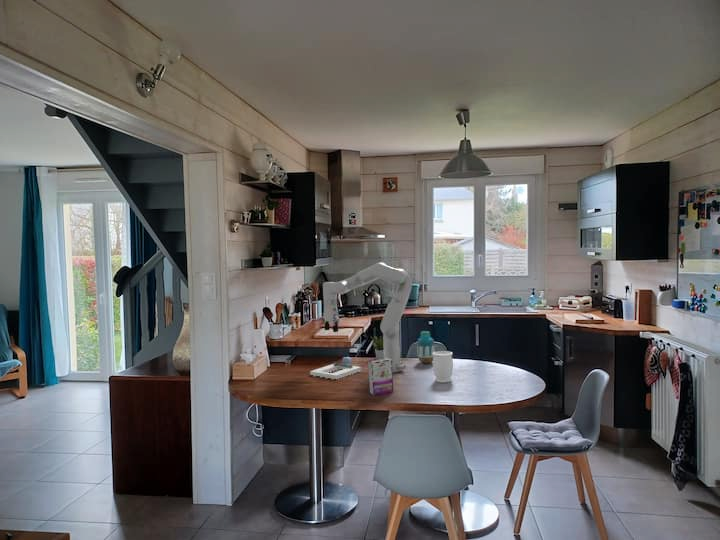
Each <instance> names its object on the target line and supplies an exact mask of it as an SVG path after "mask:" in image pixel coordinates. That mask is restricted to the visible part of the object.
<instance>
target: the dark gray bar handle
mask: <svg viewBox="0 0 720 540" xmlns="http://www.w3.org/2000/svg"><path fill="white" fill-rule="evenodd" d="M332 364H333V365H334V366H343V367H349V368H353V366H354V365H353V364H351V365H346V364H343V363H338V362H333V363H332Z"/></svg>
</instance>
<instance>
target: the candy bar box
mask: <svg viewBox="0 0 720 540" xmlns="http://www.w3.org/2000/svg"><path fill="white" fill-rule="evenodd" d="M367 364H368V365H367V367H368V381H369V393H370V394H371V395H373V396H378V395H383V394H389V393H393V392H394V379H393V377H394V376H393V372H392V360H391V359H389V358H385V359H372V360H368V361H367Z"/></svg>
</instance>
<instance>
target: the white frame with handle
mask: <svg viewBox="0 0 720 540" xmlns="http://www.w3.org/2000/svg"><path fill="white" fill-rule="evenodd" d="M341 369H342V370H341ZM335 370H336V371H335ZM332 371H333V372H332ZM329 372H330V373H329ZM357 372H358V373H360V372H362V367H361V366H356V365H353V368H349V367H343V366H334V365H333V363H332V364H328V365H325V366H322V367H319V368H316V369H313V370H310V371H309V373H310V375H313V376H312V377H316V376H320V377H319V378H322V377H325V378H324V379H328V378H331V379H330V380H334V379H338V380H340V379H339V378H341V379H343V378H346V377H349V376H352V375H354V373H355V374H357ZM351 374H352V375H351ZM348 375H349V376H348ZM345 376H346V377H345ZM342 377H343V378H342Z"/></svg>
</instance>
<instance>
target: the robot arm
mask: <svg viewBox="0 0 720 540" xmlns="http://www.w3.org/2000/svg"><path fill="white" fill-rule="evenodd" d="M376 280H382V281H385V282H388V283H391V284H394V285H397V286H396V289H395V291H394V295H393V297H392V299H391V301H390V302H389V303H388V304H387V307H386V309H385V312H384V315H383V317H382V320H381V322H380V325H379V326H380V328H379V329H380V331H381V334H383V335H382V338H383V339H382V342H383V345H384V359H385V358H389V359H391V360H392V373H399V372H403V371H404V370H405V369H406V365H405V364H403V362H401V347H400V346H401V345H400V343H401V340H400V326H401V325H400V321H401V319H402V316H403V314H404V312H405V310H406V306H407V304H408V301H409V297H410V294H411V292H412V288H413V287H412V286H413V285H412V284H413V283H412V278H411V276H410V275H409V273H408V272H407V271H406V270H404V269H403V268H394V267H391V266H389V265H386V263H384V262H376V263H374V264H373V265H371V266H369V267H366V268H364V269H362V270H360V271H358V272H357V273H356V274H354V275H352V276H350V277H348V278H345V279H343V280H340V281H336V282H334V281H325V282H323V283H322V291H323V292H322V295H323V315H322V319H323V320H322V321H323V324H324V331H330V322H331V324H332V332H333V333H337V332H339V321H340V317H339V309H338V305H337V295H344V294H346V293H348V292H350V291H352V290H355V289H358V288H359V287H363V286H365V285H367V284H369V283H372V282H374V281H376Z"/></svg>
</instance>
